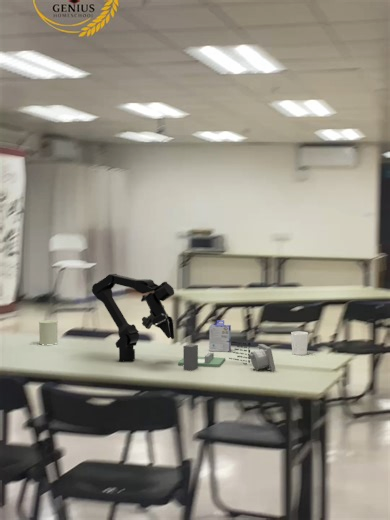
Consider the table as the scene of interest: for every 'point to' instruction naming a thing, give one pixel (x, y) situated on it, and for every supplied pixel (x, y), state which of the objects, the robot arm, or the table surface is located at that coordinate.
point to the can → (48, 332)
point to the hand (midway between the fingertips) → (171, 338)
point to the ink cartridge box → (220, 337)
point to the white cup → (299, 342)
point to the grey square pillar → (190, 357)
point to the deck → (212, 364)
